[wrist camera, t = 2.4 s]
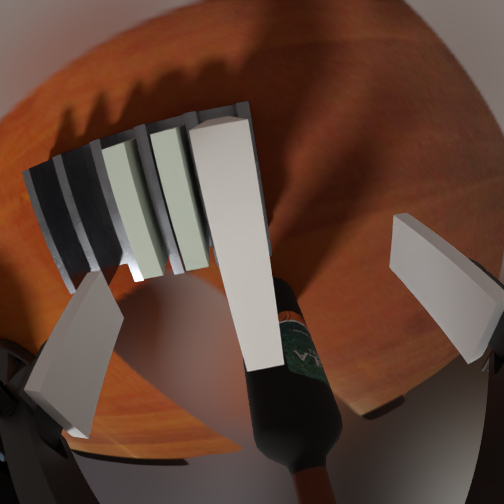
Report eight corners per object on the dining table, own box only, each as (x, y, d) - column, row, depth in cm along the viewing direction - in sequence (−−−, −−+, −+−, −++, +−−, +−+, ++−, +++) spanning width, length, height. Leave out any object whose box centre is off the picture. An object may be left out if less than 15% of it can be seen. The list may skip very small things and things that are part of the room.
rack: (85, 266, 32) (66, 294, 26) (47, 161, 25) (18, 173, 20) (267, 229, 32) (277, 254, 27) (247, 102, 26) (254, 100, 20)
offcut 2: (191, 241, 30) (186, 270, 25) (164, 129, 24) (150, 134, 19) (209, 237, 30) (208, 266, 25) (184, 125, 25) (175, 128, 19)
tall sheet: (229, 233, 30) (247, 371, 14) (207, 119, 25) (188, 130, 9) (248, 230, 30) (284, 364, 15) (228, 115, 25) (248, 119, 9)
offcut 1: (154, 249, 30) (143, 278, 25) (123, 141, 24) (101, 150, 19) (171, 245, 30) (163, 275, 25) (142, 135, 24) (123, 142, 19)
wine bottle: (232, 282, 35) (270, 558, 9) (293, 272, 35) (394, 524, 9) (240, 327, 39) (275, 555, 12) (294, 318, 39) (366, 533, 12)
